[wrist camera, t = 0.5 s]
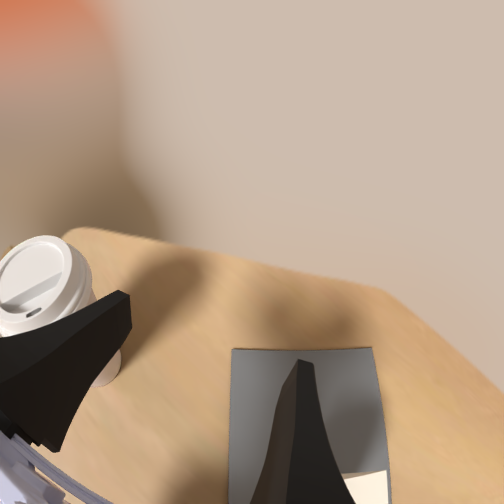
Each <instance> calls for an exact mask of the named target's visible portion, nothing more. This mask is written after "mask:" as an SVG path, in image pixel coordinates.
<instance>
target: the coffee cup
mask: <svg viewBox="0 0 504 504" xmlns="http://www.w3.org/2000/svg"><path fill="white" fill-rule="evenodd" d="M96 301H97V300H96V297H95V295H94V292H93V290H92V273H91V269H90V266H89V264H88V262H87V260H86V259H85V257H84V256H83V255H82V254H81V253H80V252H79V251H78V250H77V249H76V248H74V247H73V246H71V245H70V244H68V243H65V242H64V241H63V240H62V239H60V238H58V237H55V236H47V235H45V236H38V237H34V238H31V239H28V240H26V241H24V242H22V243H20V244H19V245H17V246H16V247H14V248H13V249H12V250H11V251H10V252H9V253H8V254H7V255H6V256H5V257H4V258H3V259H2V260H1V262H0V333H1V335H2V336H3V337H7V336H12V335H16V334H20V333H23V332H27V331H31V330H34V329H37V328H40V327H42V326H45V325H48V324H50V323H53V322H55V321H57V320H59V319H62V318H64V317H66V316H68V315H70V314H72V313H74V312H76V311H78V310H80V309H82V308H84V307H86V306H88V305H90V304H92V303H94V302H96ZM120 366H121V353H120V350H118V351H117V352H116V354H115V355H114V356H113V358H112V359H111V360H110V361H109V363H108V364H107V365H106V366H105V368H104V369H103V370H102V372H101V373H100V374H99V375H98V377H97V378H96V379H95V381H94V382H93V384H92V385H91V386H90V387H101V386H104V385H106V384H108V383H109V382H111V381H112V380H113V379H114V378H115V377H116V375H117V374H118V372H119V369H120Z"/></svg>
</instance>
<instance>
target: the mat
mask: <svg viewBox="0 0 504 504" xmlns="http://www.w3.org/2000/svg"><path fill="white" fill-rule="evenodd" d="M297 359H301V360H304V361H308V362H311V363H313V364H314V368H315V377H316V385H317V391H318V397H319V402H320V407H321V412H322V417H323V421H324V425H325V429H326V432H327V436H328V440H329V443H330V446H331V449H332V452H333V455H334V458H335V460H336V463H337V465H338V468H339V471H340V473H341V474H345V473H361V472H373V471H382V470H386V472H387V487H388V504H392V503H391V483H390V469H389V458H388V448H387V439H386V430H385V423H384V415H383V409H382V402H381V396H380V390H379V384H378V378H377V373H376V367H375V362H374V357H373V352H372V348H360V349H341V350H306V351H274V350H239V349H232V356H231V388H230V427H229V487H228V504H250V501H251V499H252V496H253V494H254V491H255V488H256V486H257V483H258V480H259V477H260V474H261V471H262V468H263V465H264V462H265V458H266V454H267V450H268V445H269V440H270V435H271V429H272V424H273V419H274V414H275V408H276V405H277V401H278V398H279V395H280V391H281V388H282V385H283V384H284V382H285V380H286V379H287V377H288V375H289V373H290V372H291V370H292V368H293V367H294V365H295V363H296V361H297Z"/></svg>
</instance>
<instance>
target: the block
mask: <svg viewBox="0 0 504 504" xmlns="http://www.w3.org/2000/svg"><path fill="white" fill-rule="evenodd" d="M341 475H342V477H343V479H344V481H345V483H346V486H347V488H348V490H349V492H350V494H351V496H352V497H353V499H354V501H355V503H356V504H388V487H387V472H386V470H382V471H373V472H361V473H345V474H341Z"/></svg>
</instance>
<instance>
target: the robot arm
mask: <svg viewBox="0 0 504 504" xmlns="http://www.w3.org/2000/svg"><path fill="white" fill-rule="evenodd" d="M131 329H132V321H131V309H130V295H128V294H126V293H124V292H122V291H119V290H117V291H115V292H113V293H111V294H109V295H107V296H105V297H103V298H101V299H99V300H98V301H96V302H94V303H92V304H90V305H88V306H86V307H84V308H82V309H80V310H78V311H76V312H74V313H72V314H70V315H68V316H66V317H64V318H62V319H59V320H57V321H55V322H53V323H50V324H48V325H45V326H42V327H40V328H37V329H34V330H31V331H27V332H23V333H20V334H16V335H12V336H7V337H2V338H0V500H1V501H0V504H70V503H68V502H67V501H65V500H64V497H65V495H66V494H65V493H64V492H63V491H62V490H61V489H60V488H58V487H57V486H56V485H55V484H53V483H52V482H51V481H49V480H48V479H46V478H45V477H43V476H42V475H40V474H39V473H37V472H36V471H35V467H37V468H38V469H39V470H40V471H41V472H43V473H44V474H45V475H46V476H48V477H49V478H50V479H52V480H53V481H54V482H56V483H57V484H58V485H60V486H61V487H63V488H64V489H65V490H67V491H68V492H70V493H71V494H73V495H74V496H76V497H77V498H79V499H80V500H82V501H83V502H85V503H86V504H113V503H111V502H110V501H108V500H106V499H104V498H103V497H101V496H99V495H98V494H96V493H94V492H93V491H91V490H89V489H88V488H86V487H85V486H83V485H81V484H80V483H78V482H77V481H75V480H74V479H72V478H71V477H70V476H68V475H67V474H65V473H64V472H63V471H61V470H60V469H58V468H57V467H56V466H54V465H53V464H52V463H50V462H49V461H48V460H47V459H45V458H44V457H43V456H42V455H40V454H39V453H38V452H37V451H36V450H34V449H33V448H32V447H31V446H30V445H31V443H32V442H33V443H34V444H36V445H37V446H38V447H39V446H40V444H42V445H44V446H45V447H46V448H47V449H49V450H50V451H51V452H53V453H56V452H60V449H61V446H62V443H63V441H64V438H65V436H66V433H67V431H68V428H69V426H70V424H71V422H72V419H73V417H74V415H75V413H76V411H77V409H78V408H79V406H80V404H81V402H82V400H83V398H84V397H85V395H86V393H87V391H88V390H89V388H90V386H91V385H92V384H93V382H94V381H95V379H96V378H97V377H98V375H99V374H100V373H101V372H102V370H103V369H104V368H105V366H106V365H107V364H108V363H109V361H110V360H111V359H112V358H113V356H114V355H115V354H116V352H117V351H118V350H119V348H120V347H121V346H122V344H123V342H124V341H125V339H126V338H127V336H128V334H129V332H130V331H131ZM250 504H356V503H355V501H354V499H353V497H352V496H351V494H350V492H349V490H348V488H347V486H346V483H345V481H344V479H343V477H342V475H341V473H340V471H339V468H338V465H337V463H336V460H335V458H334V455H333V452H332V449H331V446H330V443H329V440H328V436H327V432H326V429H325V425H324V421H323V417H322V412H321V407H320V402H319V397H318V391H317V385H316V377H315V368H314V364H313V363H311V362H308V361H304V360H301V359H297V361H296V363H295V365H294V367H293V368H292V370H291V372H290V373H289V375H288V377H287V379H286V380H285V382H284V384H283V385H282V388H281V391H280V395H279V398H278V401H277V405H276V408H275V414H274V419H273V424H272V429H271V435H270V440H269V445H268V450H267V454H266V458H265V462H264V465H263V468H262V471H261V474H260V477H259V480H258V483H257V486H256V488H255V491H254V494H253V496H252V499H251V501H250Z"/></svg>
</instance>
